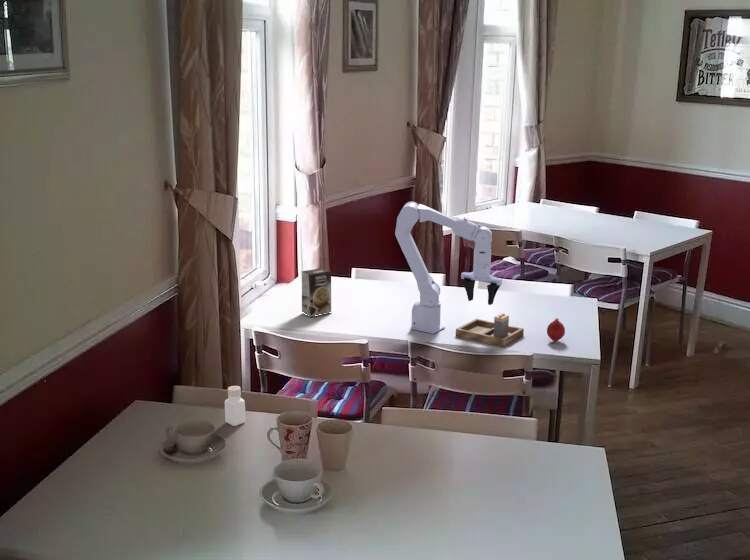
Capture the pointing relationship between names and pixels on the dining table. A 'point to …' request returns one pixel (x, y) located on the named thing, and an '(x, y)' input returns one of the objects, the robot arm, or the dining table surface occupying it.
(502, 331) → the battery cell
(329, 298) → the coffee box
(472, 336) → the walnut tray
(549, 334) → the onion
